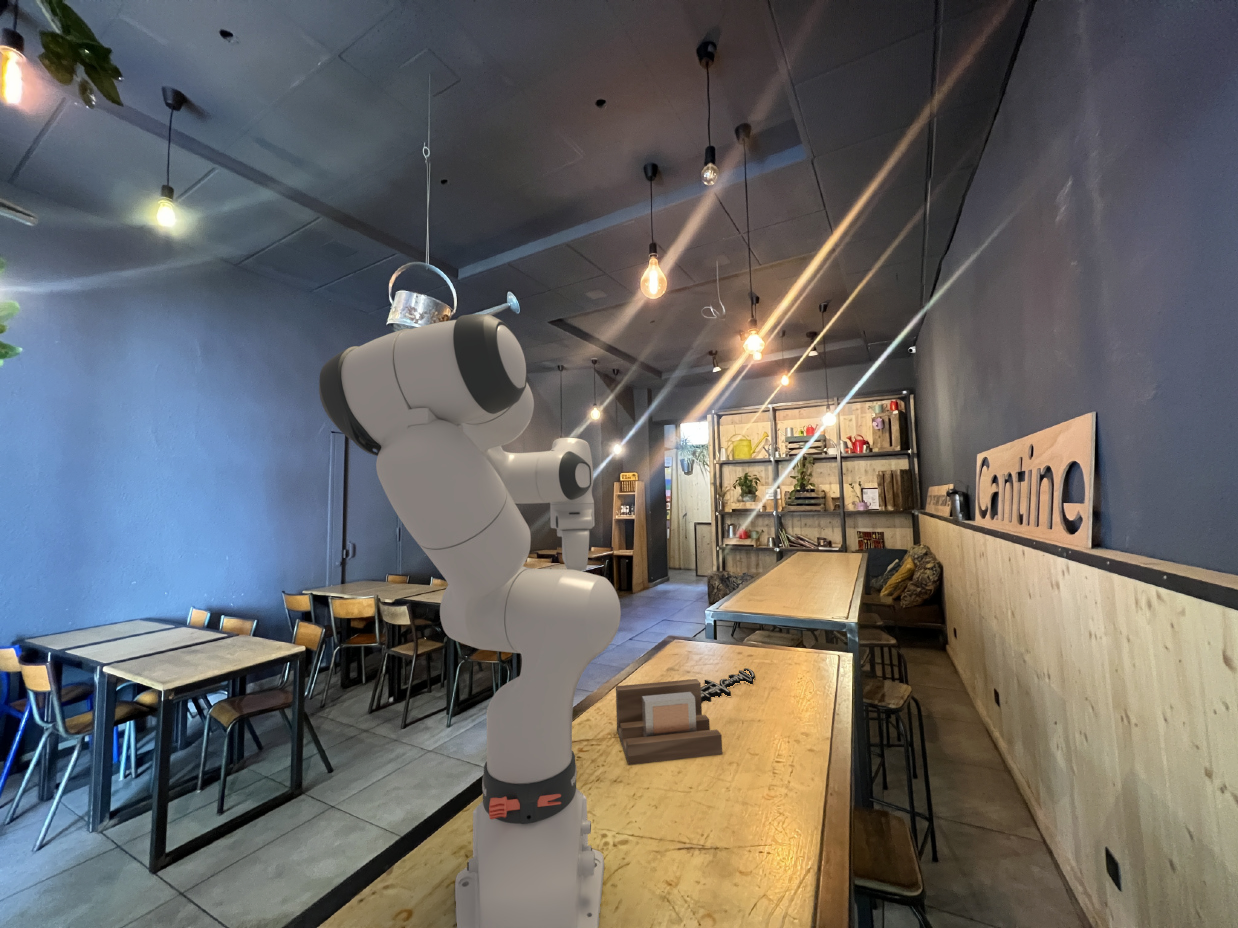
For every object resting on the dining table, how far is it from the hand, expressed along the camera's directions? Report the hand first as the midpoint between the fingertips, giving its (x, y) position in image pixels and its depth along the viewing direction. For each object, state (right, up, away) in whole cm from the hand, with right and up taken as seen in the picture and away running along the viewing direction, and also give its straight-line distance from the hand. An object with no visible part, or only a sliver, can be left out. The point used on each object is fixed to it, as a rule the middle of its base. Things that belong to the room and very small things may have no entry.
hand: (573, 588), depth 95 cm
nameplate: (+36, -33, +28) cm, 57 cm away
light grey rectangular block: (+19, -29, -2) cm, 35 cm away
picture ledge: (+18, -31, +1) cm, 36 cm away
